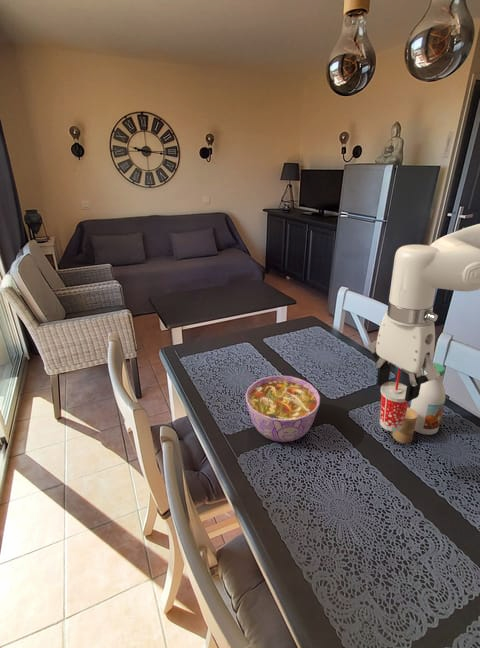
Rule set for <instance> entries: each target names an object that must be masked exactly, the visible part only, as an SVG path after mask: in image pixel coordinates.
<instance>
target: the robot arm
mask: <svg viewBox="0 0 480 648" xmlns="http://www.w3.org/2000/svg"><path fill="white" fill-rule="evenodd" d="M393 259H394V260H393V265H392V266H393V267H392V274H391V283H390V288H389V296H388V305H387V311H386V312H384V315H383V317H382V320H381V323H380V326H379V329H378V334H377V337H376V339H375V340H374V341H372V342H370V343H368V345H367V346H368V348H369V350H370V352H371V353H372V357H373V359H374V361H375V366H376V368H377V373H376V378H377V379H376V385H378V386H382V385H383V384H384V383H387V382H390V377H391V369H392V367H391V365H390V363H391V364H393V365H394V366H397V367H399V368H400V369H403V370H405V371H407V373H408V377H409V383H408V384H407V385H406V386H407V389H406V395H405V400H406V401H407V402H411V401H412V400H413V399H415V398H417V397H418V396H419V392H420V387H421V384H423V383H425V382H428V381H431V380H434V379H436V378H438V377H440V373H439V372H438V370H437V368H436V367H435V365H434V363H435V362H433V361H434V357H435V356H434V355H435V346H436V328H435V327H436V326H435V322H436V321H437V320H438V317H439V316H438V314H436V313H435V312H434V311H433V310H434V307H433V306H434V301H435V296H436V291H437V289H441V290H447V291H448V290H449V291H454V292H468V293H469V292H474V291H478V290H480V223H477V224H474V225H473V224H472V225H471V226H468V227H464V228H462V229H458V230H457V231H454V232H451V233H448V234H446V235H443V236H442V237H439V238H438V239H436V240H434V241H433V242H432V243H431V244H430V245H427V244H405V245H402V246H400V247H398V248H397V250H396V251H395V254H394V258H393ZM423 368H424V369H423ZM425 369H426V370H427V372H428V374H426V375H424V374H425V373H424V370H425Z"/></svg>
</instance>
